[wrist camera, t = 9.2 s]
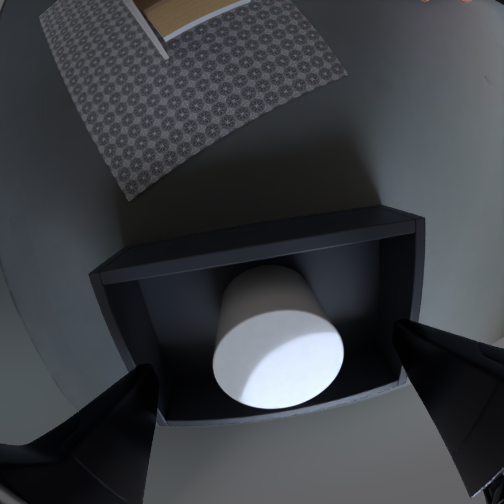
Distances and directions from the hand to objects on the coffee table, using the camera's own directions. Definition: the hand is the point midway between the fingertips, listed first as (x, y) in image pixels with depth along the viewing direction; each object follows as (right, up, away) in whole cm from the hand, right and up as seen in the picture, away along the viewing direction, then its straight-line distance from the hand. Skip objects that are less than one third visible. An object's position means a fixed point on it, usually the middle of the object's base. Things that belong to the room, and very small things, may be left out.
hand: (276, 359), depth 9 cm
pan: (0, +1, +4) cm, 4 cm away
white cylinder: (0, +1, +3) cm, 4 cm away
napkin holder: (-5, +15, 0) cm, 16 cm away
